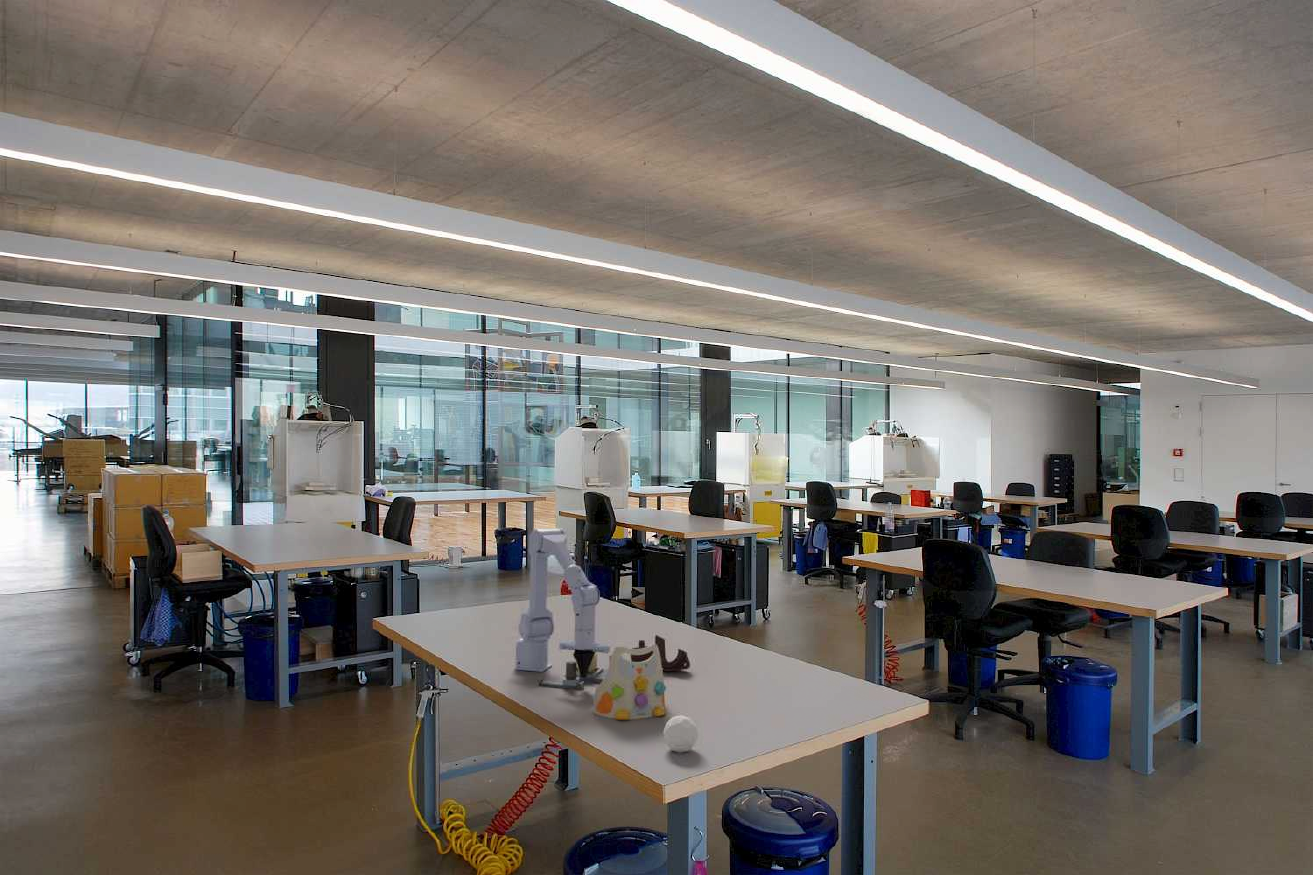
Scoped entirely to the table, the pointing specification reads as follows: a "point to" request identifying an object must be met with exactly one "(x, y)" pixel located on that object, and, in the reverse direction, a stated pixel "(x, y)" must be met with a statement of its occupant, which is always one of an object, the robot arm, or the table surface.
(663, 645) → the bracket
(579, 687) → the rail
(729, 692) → the table surface
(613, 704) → the shape sorter
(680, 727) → the ball
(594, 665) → the housing
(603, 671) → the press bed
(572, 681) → the lever
